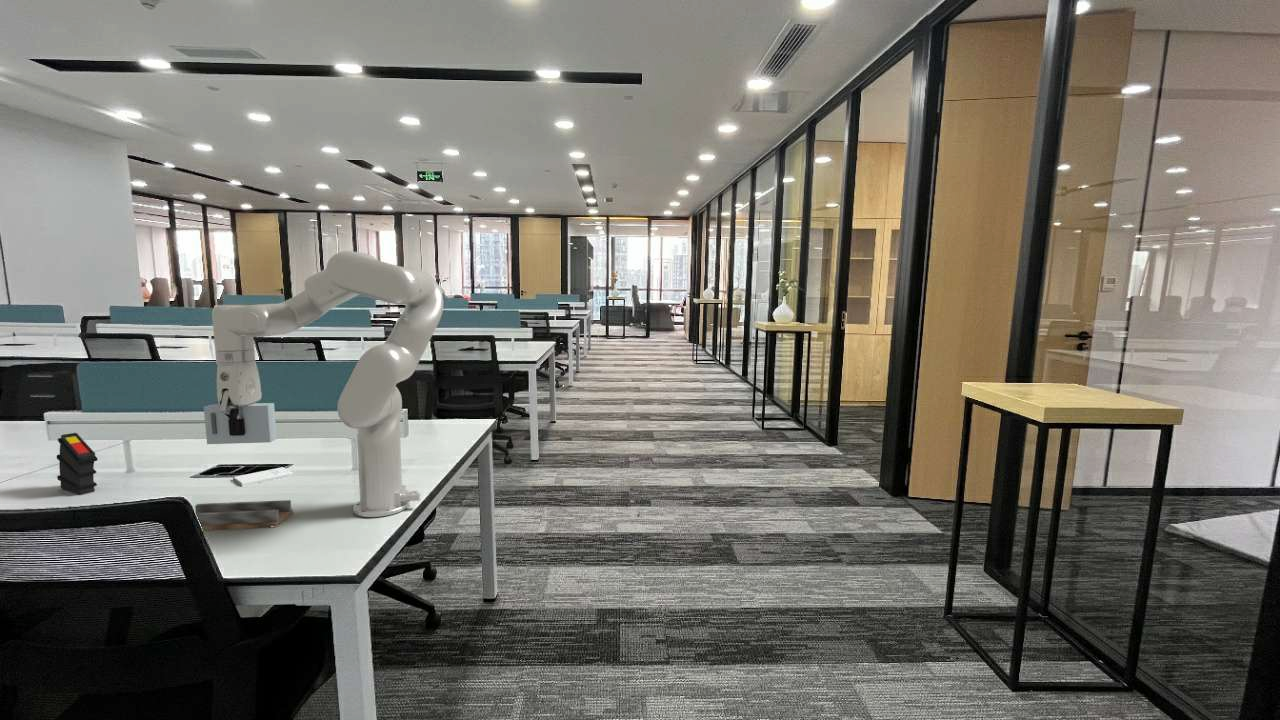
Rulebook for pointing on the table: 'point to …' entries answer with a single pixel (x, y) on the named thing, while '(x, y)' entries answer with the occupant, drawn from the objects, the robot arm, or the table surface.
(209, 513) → the track base
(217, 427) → the door panel
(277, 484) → the table surface
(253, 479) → the external hard drive
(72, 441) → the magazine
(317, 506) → the table surface
